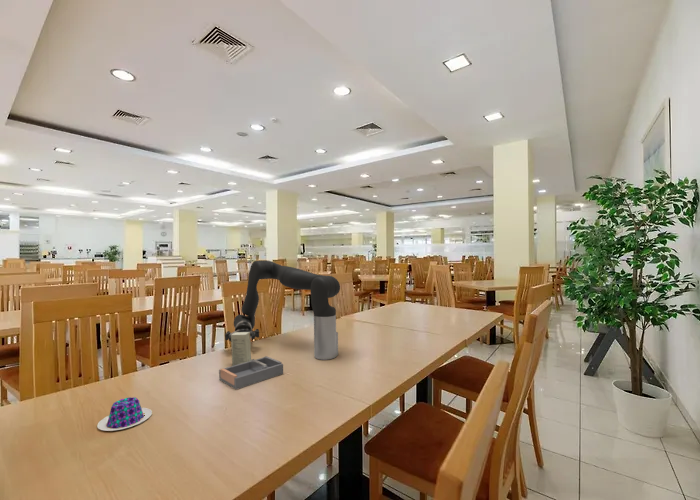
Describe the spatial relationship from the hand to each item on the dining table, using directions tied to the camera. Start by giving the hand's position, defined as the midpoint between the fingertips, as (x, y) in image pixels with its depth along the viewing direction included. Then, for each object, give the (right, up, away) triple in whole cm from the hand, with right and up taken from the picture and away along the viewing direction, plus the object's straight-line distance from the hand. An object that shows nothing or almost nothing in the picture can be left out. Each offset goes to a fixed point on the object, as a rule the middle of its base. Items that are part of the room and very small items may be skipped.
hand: (242, 338), depth 140 cm
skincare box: (+3, -7, -11) cm, 13 cm away
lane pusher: (+13, -6, -22) cm, 26 cm away
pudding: (-14, -8, -53) cm, 55 cm away
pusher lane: (+11, -7, -24) cm, 27 cm away
